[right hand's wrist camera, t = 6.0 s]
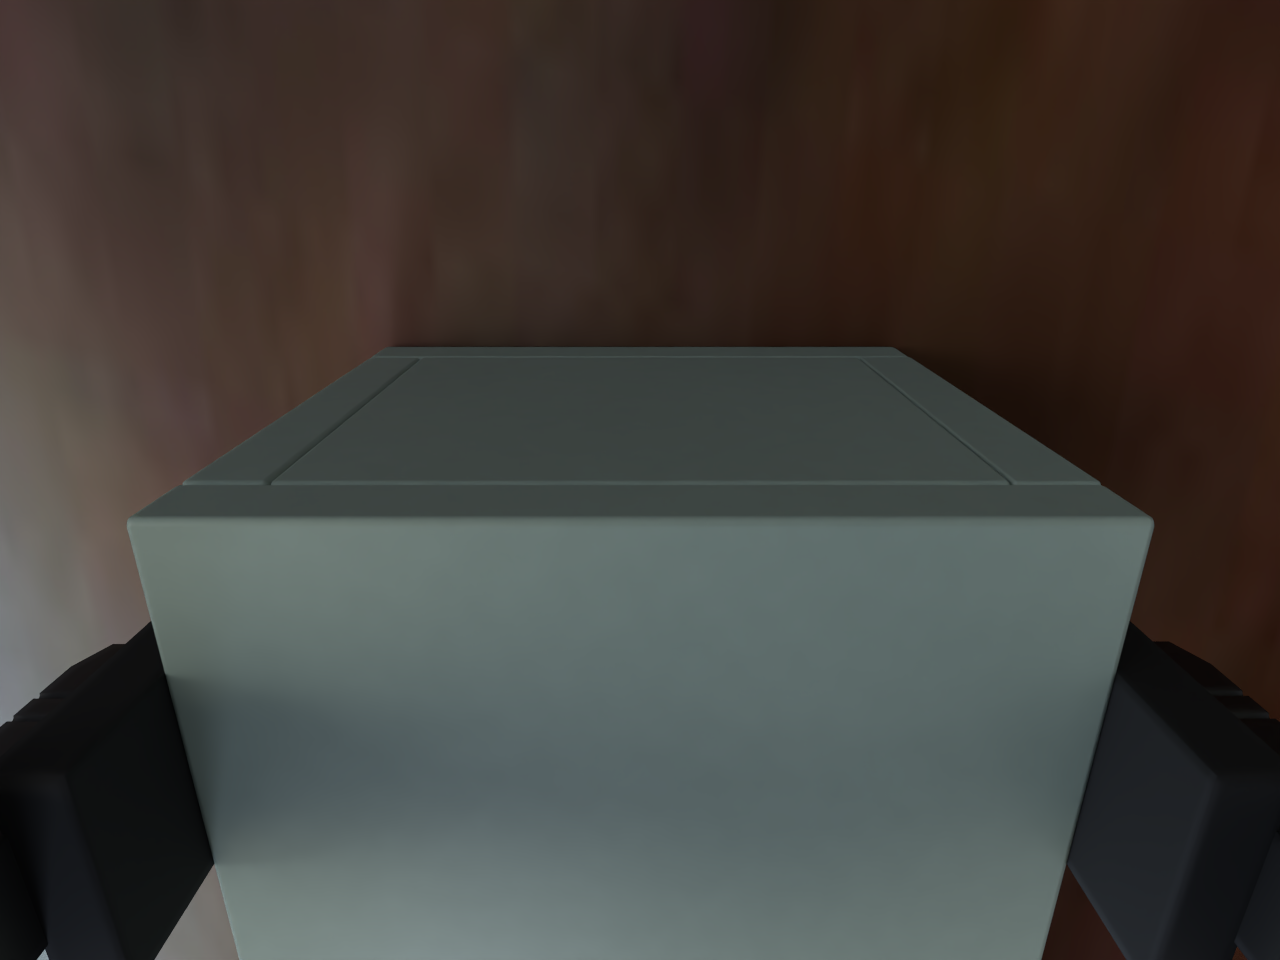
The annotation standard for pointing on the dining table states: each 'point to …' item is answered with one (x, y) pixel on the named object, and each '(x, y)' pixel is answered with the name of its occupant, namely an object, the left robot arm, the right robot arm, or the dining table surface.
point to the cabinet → (640, 659)
